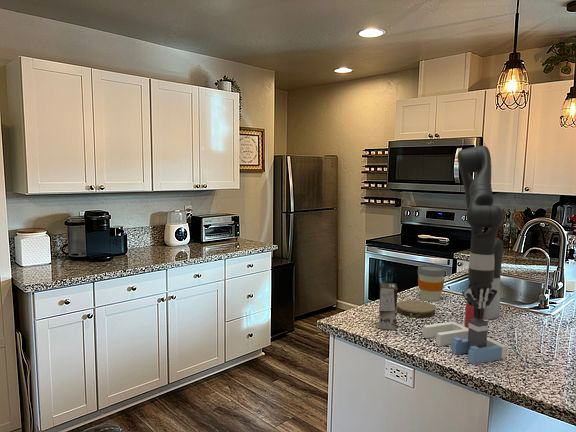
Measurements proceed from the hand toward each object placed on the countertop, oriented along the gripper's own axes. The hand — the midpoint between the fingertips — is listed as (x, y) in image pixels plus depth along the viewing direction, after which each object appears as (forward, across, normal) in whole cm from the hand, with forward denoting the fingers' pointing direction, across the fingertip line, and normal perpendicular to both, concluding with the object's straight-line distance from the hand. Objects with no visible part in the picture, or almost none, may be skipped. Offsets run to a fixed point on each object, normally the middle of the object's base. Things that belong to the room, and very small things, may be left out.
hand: (478, 318), depth 140 cm
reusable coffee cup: (+13, -28, -58) cm, 65 cm away
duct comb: (+13, 0, -8) cm, 15 cm away
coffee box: (+13, +12, -34) cm, 38 cm away
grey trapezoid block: (+13, 0, 0) cm, 13 cm away
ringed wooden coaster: (+13, -9, -44) cm, 46 cm away
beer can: (+13, -16, -18) cm, 27 cm away
